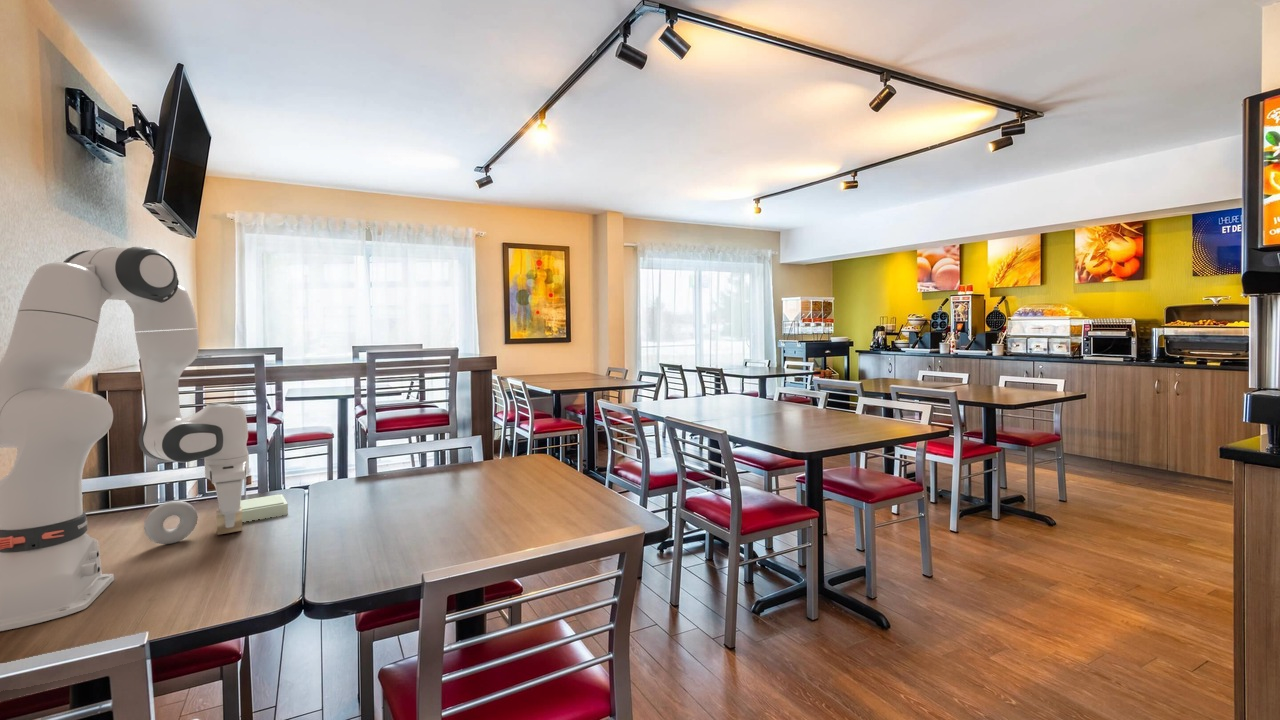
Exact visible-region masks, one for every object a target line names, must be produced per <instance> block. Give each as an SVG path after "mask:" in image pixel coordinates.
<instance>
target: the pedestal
mask: <svg viewBox="0 0 1280 720" xmlns="http://www.w3.org/2000/svg"><path fill="white" fill-rule="evenodd" d="M288 505H289V504H288V502H287V500H286V498H285V497H284V494H282V493H281V494H274V495H273V494H272V495H266V496H261V497H254V498H249V499H241V504H240V506H241V509H242V522H244V523H247V522H246V521H249V522H253V521H252V520H255V521H259V520H258V519H260V520H265V518H266V519H271V518H270V517H272V518H276V516H277V517H281V516H282V515H283V516H287V515H289V507H288Z"/></svg>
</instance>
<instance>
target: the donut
mask: <svg viewBox="0 0 1280 720" xmlns="http://www.w3.org/2000/svg"><path fill="white" fill-rule="evenodd" d="M172 516H176V517H178V518H179V522H178V523H177V525H176V526H175V527H174V528H171V529H170V528H169V529H167V528H165V527H164V522H165V520H167V518H169V517H172ZM198 518H199V516H198V513H197V510H196V509H195V508H194V506H193V505H192V504H190V503H189V502H186V501H181V500H171V501H167V502H164V503H161V504H160V505H158V506H156V507H155V508H153V509H152V510H151V512H150V513H148V515H147V517H146V519H145V521H144V525H143V530H144V533H145V536H146V537H147V538H148V540H150V542H151V541H152V542H153V543H156V544H158V545H159V544H160V545H170V544H171V545H172V544H175V543H178V542H181V541H183V540H184V539H186V538H187V537H188V536H189V535H190V534H192V533H193V531H194V530H195V528H196V526H197V524H198V520H199V519H198Z"/></svg>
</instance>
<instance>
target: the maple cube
mask: <svg viewBox="0 0 1280 720" xmlns="http://www.w3.org/2000/svg"><path fill="white" fill-rule="evenodd" d="M215 515H216V517H215V518H216V533H217V534H216V535H223V534H224V535H225V534H230V533H236V532H240V531H243V523H242V509H241V506H240V510H239V512H236V513H235V518H234V524H235V525H234V526H233V527H229V528H226V527H225V517H224V515H222V514H221V513H220V509H219V508H218V509H215Z"/></svg>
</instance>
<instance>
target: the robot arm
mask: <svg viewBox="0 0 1280 720" xmlns="http://www.w3.org/2000/svg"><path fill="white" fill-rule="evenodd" d="M179 282H180V281H179V278H178V272H177V270H176V267H175V265H174V263H173V262H172V260H171V259H170V258H169V256H168V255H166V254H165V253H164V252H162V251H160V250H158V249H155V248H151V247H145V246H133V247H116V246H114V247H113V246H110V247H103V248H97V249H92V250H90V249H89V250H83V251H79V252H76V253H73V254H72V255H70V256H68V257H67V258H65V260H64V261H63V262H56V261H55V262H49V263H45V264H43V265H41V266H39V267H38V268H37V269H36V271H34V273H33V275H32V276H31V278H30V280H29V282H28V284H27V285H26V288H25V289H24V292H23V295H22V297H21V300H20V302H19V305H18V306H19V307H18V309H17V313H16V317H15V321H14V325H13V327H12V332H11V335H10V338H9V342H8V345H7V347H6V350H5V352H4V354H3V357H2V359H1V360H0V448H10V449H11V448H17V451H16V456H15V460H14V463H13V466H12V468H11V470H10V471H9V472H8V474H7V475H5V476H4V477H2V478H1V479H0V632H4V631H8V630H12V629H13V630H14V629H18V628H23V627H27V626H32V625H36V624H40V623H43V622H47V621H50V620H51V621H52V620H55V619H56V620H57V619H59V618H62V617H66V616H69V615H72V614H74V613H77V612H80V611H84V610H86V609H87V608H88V607H89V606H90V605H91V604H92V603H93V602H94V601H95V600H96V599H97V598H98V597H100V595H101V594H102V593H103V592H104V591H105V590H106V589H107V588H108V587H109V586H110V584H111V583H113V582H114V581H115V576H114V573H103V571H102V562H101V553H100V543H99V540H98V539H96V538H94V537H91V536H90V535H88V534H87V531H88V518H87V514H86V512H85V511H83V508H84V507H83V473H84V468H85V465H86V463H87V458H88V456H89V454H90V452H91V450H92V448H93V447H94V446H95V444H96V443H97V442H99V440H101V439H102V438H103V437H104V436H106V434H107V433H108V432H109V430H110V429H111V427H112V425H113V423H114V422H113V421H114V412H113V411H114V410H113V408H112V406H111V404H110V401H108V400H107V399H106V398H104V397H103V396H102V395H99V394H96V393H93V392H88V391H84V390H80V389H75V388H64V386H65V385H66V383H67V382H68V380H69V379H71V377H72V376H73V375H74V374H75V373H76V372H78V371H79V370H81V369H82V368H84V367H86V366H87V364H89V362H90V360H91V358H92V355H93V350H94V346H95V341H96V336H97V332H98V327H99V323H100V318H101V312H102V307H103V305H104V304H105V303H106V302H107V300H110V301H111V300H112V301H113V300H116V301H117V300H118V301H124V302H125V303H126V304H127V305H128V307H129V308H130V310H131V312H132V314H133V325H134V332H135V341H136V346H137V352H138V355H139V359H140V365H141V371H142V379H143V380H142V381H143V395H144V407H145V408H144V410H145V417H144V418H145V419H144V422H143V425H142V427H141V430H140V433H139V436H138V446H139V448H140V450H141V452H143V454H145V456H147V457H149V458H151V459H154V460H158V461H159V460H160V461H168V462H175V463H190V462H193V461H197V460H200V459H203V458H204V476H205V477H204V478H205V479H208V480H209V481H210V482H211V484H212V485H213V486H214V488H215V492H216V498H217V503H218V509H220V513H221V514H222V515H224V517H225V527H226V528H229V527H233V526H234V525H235V524H234V518H235V513H236V512H239V510H240V504H241V500H242V491H243V484H244V480H246V476H247V474H249V473H250V455H249V454H250V453H249V450H248V447H247V442H248V439H249V429H248V421H247V414H246V411H245V409H244V408H243V407H242V406H239V405H237V404H228V403H210V404H209V403H208V404H207V405H205V407H203V408H202V409H201V410H199V411H197V412H196V413H193V414H192V415H189V416H186V417H183V416H182V414H181V410H180V409H181V408H180V392H179V391H180V390H179V389H180V388H179V381H180V378H181V376H182V374H183V372H184V371H185V370H186V368H188V367H189V366H190V365H191V364H192V363H193V362H194V361H195V360H196V359H197V357H198V355H199V354H198V353H199V349H200V348H199V347H200V346H199V345H200V338H199V336H200V335H199V330H198V324H197V323H198V322H197V319H196V314H195V313H196V312H195V310H194V307H193V304H192V301H191V298H190V295H189V293H188V291H187V290H186V289H185V288H184V287H183V286H181V285H180V284H179Z"/></svg>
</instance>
